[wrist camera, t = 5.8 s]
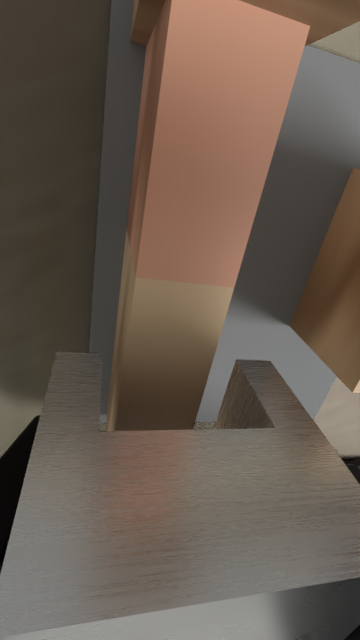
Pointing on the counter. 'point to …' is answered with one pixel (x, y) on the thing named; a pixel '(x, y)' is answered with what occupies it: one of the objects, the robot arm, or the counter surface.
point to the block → (217, 200)
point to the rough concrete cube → (182, 522)
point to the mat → (268, 227)
